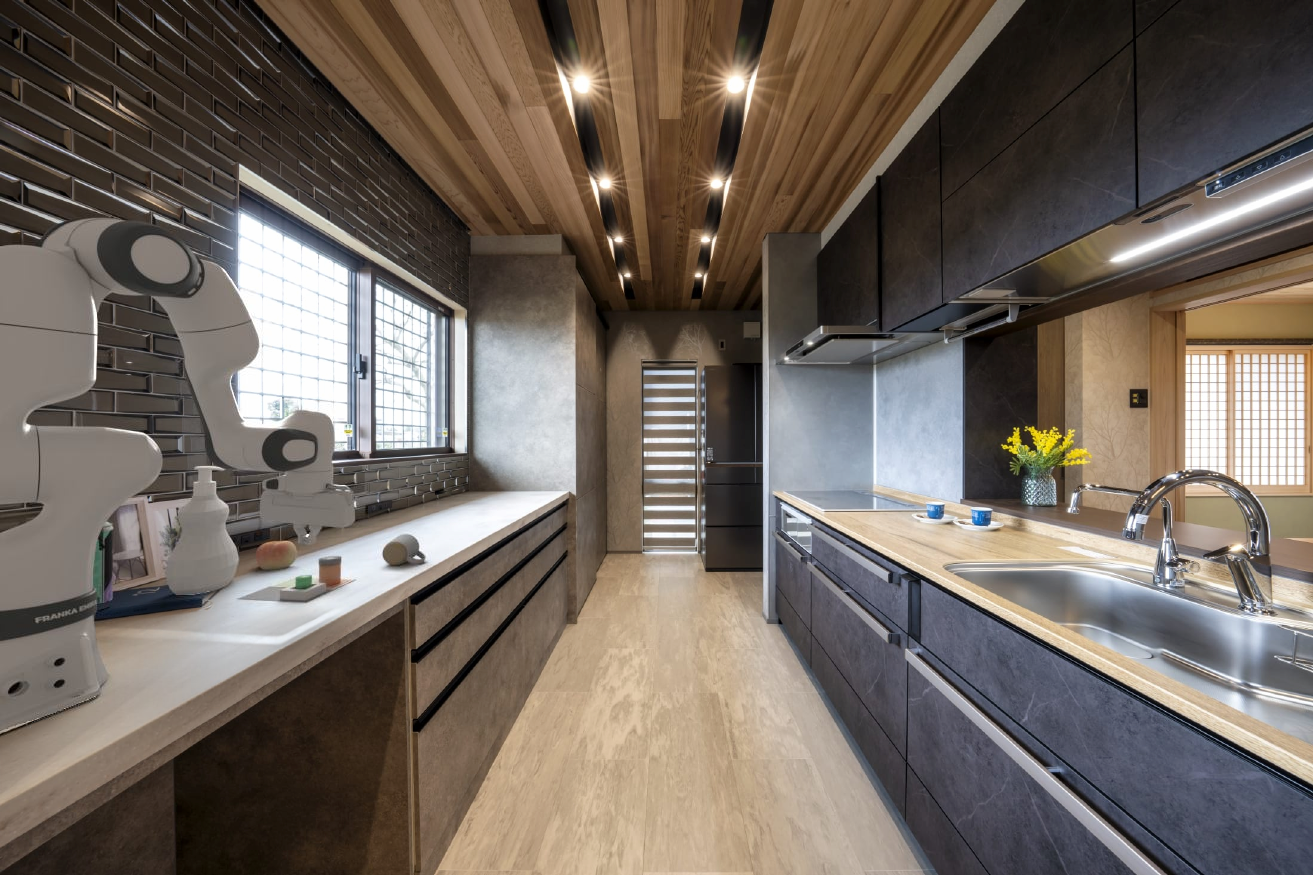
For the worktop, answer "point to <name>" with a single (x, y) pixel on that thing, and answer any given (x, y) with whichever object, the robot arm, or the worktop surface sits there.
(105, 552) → the spray can
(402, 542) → the ceramic mug
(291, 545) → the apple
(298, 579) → the button
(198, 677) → the worktop surface
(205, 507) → the soap bottle
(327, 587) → the colouring board
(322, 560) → the orange jar
